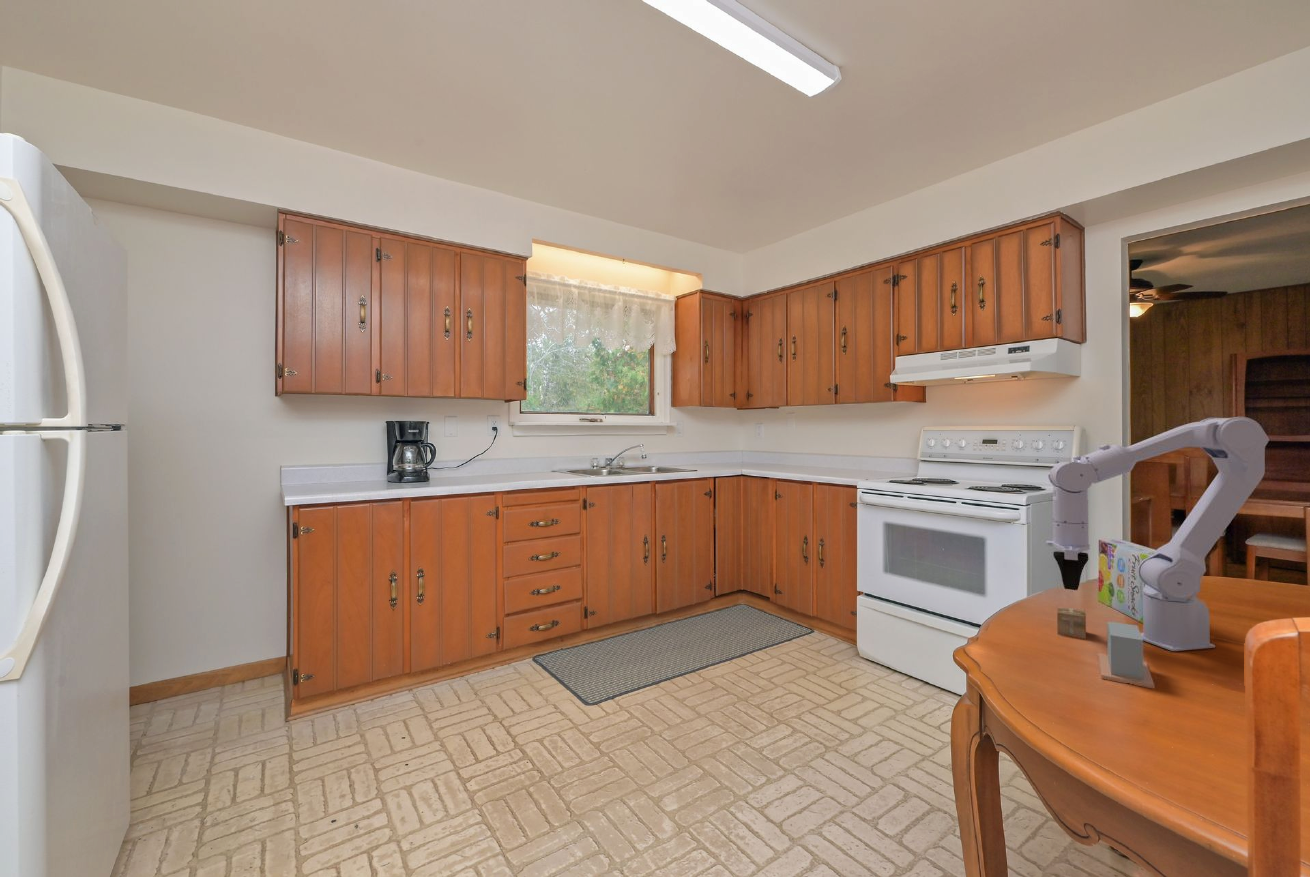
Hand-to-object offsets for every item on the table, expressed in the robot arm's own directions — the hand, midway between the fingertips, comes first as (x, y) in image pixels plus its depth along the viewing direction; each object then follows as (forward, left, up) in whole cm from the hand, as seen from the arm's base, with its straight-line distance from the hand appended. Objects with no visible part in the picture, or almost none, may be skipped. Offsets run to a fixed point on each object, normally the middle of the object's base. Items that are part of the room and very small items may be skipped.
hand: (1070, 588), depth 112 cm
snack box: (-23, -6, -9) cm, 25 cm away
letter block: (0, 0, -9) cm, 9 cm away
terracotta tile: (+7, +17, -9) cm, 20 cm away
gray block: (+7, +17, -8) cm, 21 cm away
